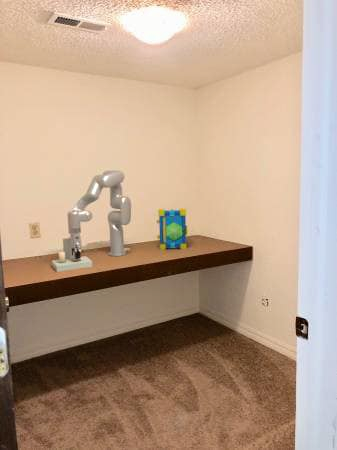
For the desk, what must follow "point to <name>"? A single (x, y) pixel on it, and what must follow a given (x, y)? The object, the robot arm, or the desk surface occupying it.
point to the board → (70, 263)
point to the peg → (75, 257)
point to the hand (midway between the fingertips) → (76, 256)
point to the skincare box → (67, 248)
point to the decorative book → (172, 228)
